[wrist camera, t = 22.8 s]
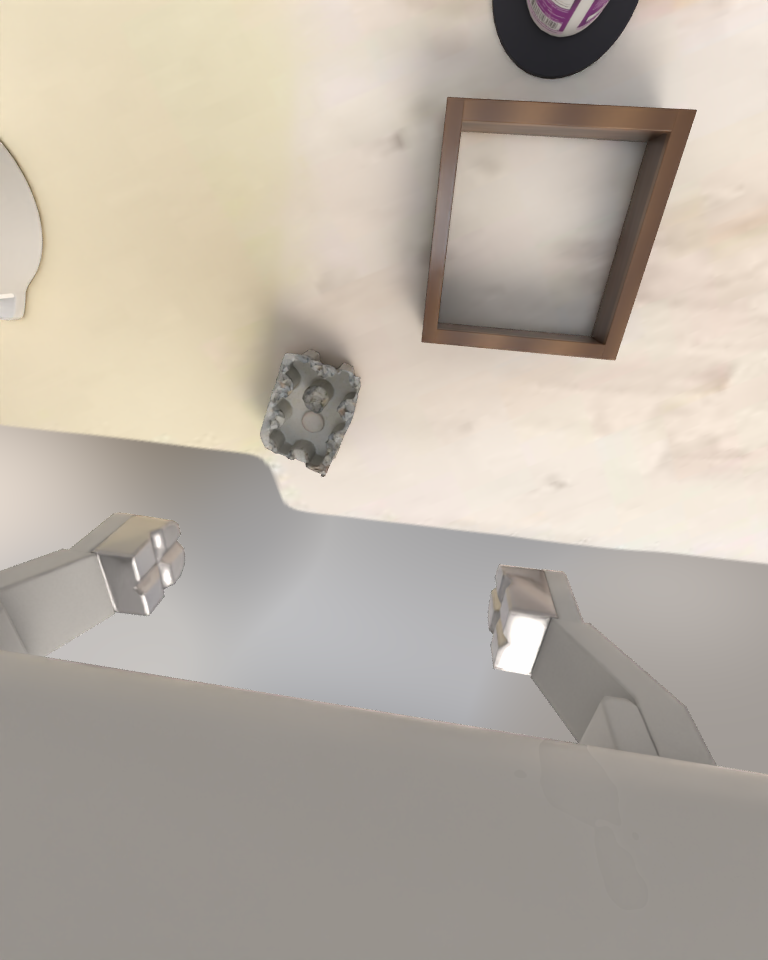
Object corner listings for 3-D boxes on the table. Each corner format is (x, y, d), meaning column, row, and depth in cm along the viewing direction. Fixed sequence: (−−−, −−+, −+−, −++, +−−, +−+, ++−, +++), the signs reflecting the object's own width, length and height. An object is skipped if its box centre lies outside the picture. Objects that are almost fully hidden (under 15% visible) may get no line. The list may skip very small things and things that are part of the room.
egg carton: (334, 464, 45) (324, 483, 42) (267, 434, 45) (251, 451, 41) (372, 372, 40) (365, 385, 36) (297, 337, 39) (282, 347, 36)
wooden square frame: (423, 332, 38) (421, 342, 34) (447, 113, 30) (447, 96, 27) (599, 349, 37) (615, 360, 33) (667, 125, 29) (697, 109, 26)
